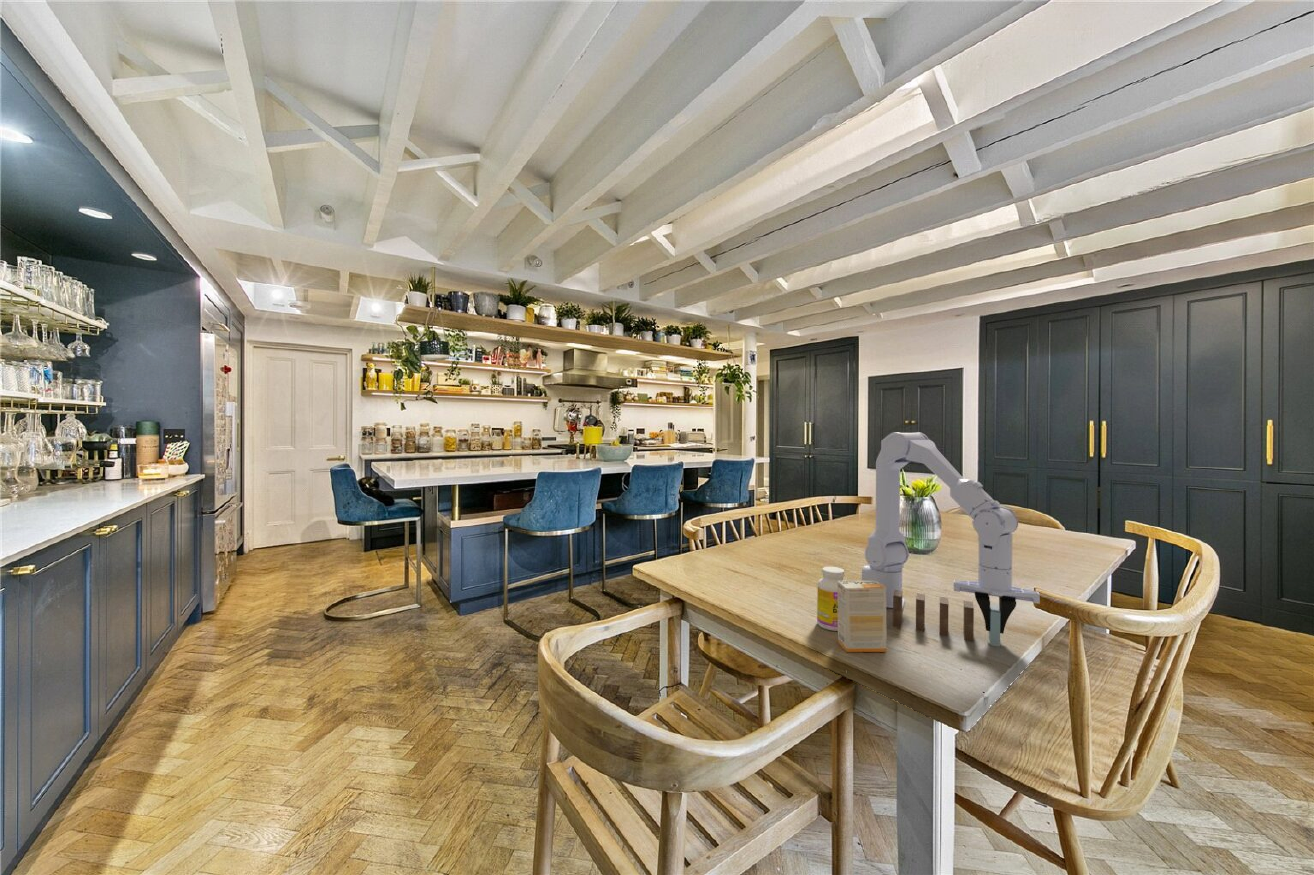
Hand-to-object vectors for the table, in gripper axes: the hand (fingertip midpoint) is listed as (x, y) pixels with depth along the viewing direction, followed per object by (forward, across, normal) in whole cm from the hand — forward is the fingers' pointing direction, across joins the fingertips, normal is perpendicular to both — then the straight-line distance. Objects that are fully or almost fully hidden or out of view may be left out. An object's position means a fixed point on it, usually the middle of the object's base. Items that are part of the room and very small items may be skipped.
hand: (994, 630), depth 99 cm
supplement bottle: (+2, -30, -9) cm, 32 cm away
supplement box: (+3, -24, -17) cm, 29 cm away
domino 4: (+2, -4, 0) cm, 5 cm away
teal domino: (+2, 0, 0) cm, 2 cm away
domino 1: (+2, -18, 0) cm, 18 cm away
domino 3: (+2, -9, 0) cm, 9 cm away
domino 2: (+2, -14, 0) cm, 14 cm away
